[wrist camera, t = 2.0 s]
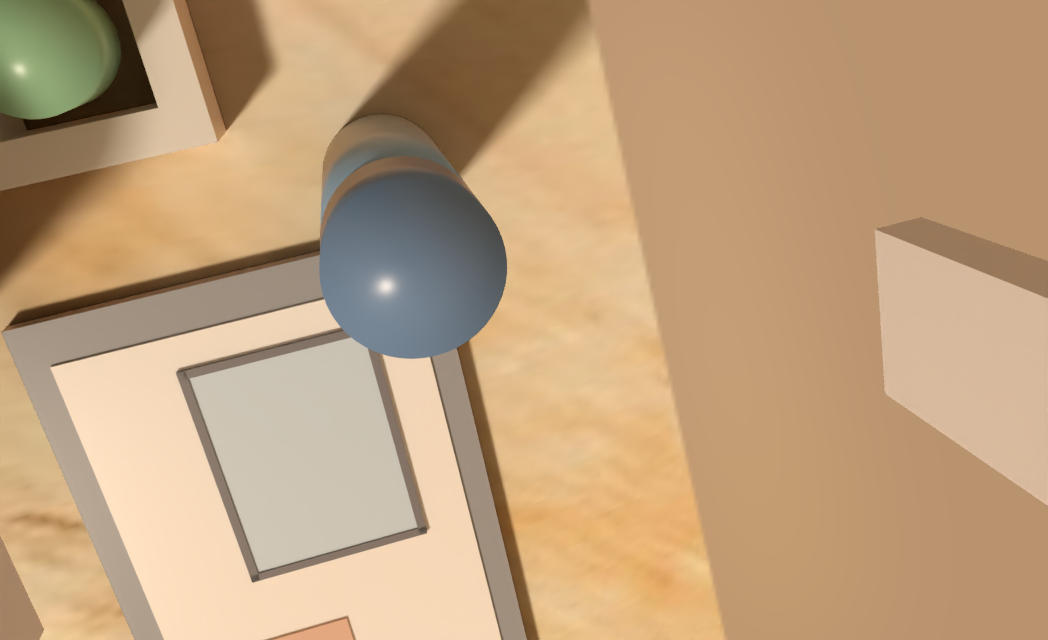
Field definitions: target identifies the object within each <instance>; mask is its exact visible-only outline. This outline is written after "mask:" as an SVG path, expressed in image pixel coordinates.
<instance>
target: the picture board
mask: <svg viewBox="0 0 1048 640" xmlns="http://www.w3.org/2000/svg"><path fill="white" fill-rule="evenodd" d="M319 261H320V251H316V252H312V253H308V254H304V255H299V256H295V257H291V258H287V259H283V260H279V261H275V262H270V263H266V264H262V265H258V266H254V267H250V268H246V269H242V270H237V271H233V272H229V273H225V274H221V275H217V276H213V277H208V278H204V279H200V280H196V281H192V282H188V283H184V284H179V285H175V286H171V287H167V288H163V289H159V290H155V291H150V292H146V293H142V294H138V295H134V296H130V297H126V298H122V299H117V300H113V301H109V302H105V303H101V304H97V305H93V306H88V307H84V308H80V309H76V310H72V311H68V312H64V313H59V314H55V315H51V316H47V317H43V318H39V319H35V320H30V321H26V322H22V323H18V324H14V325H10V326H7V327H6V328H5V329H4V330H3V331H2V332H1V333H2V335H3V337H4V339H5V342H6V344H7V346H8V349H9V351H10V353H11V356H12V358H13V360H14V363H15V365H16V367H17V370H18V372H19V374H20V376H21V379H22V381H23V383H24V386H25V388H26V390H27V393H28V395H29V397H30V400H31V402H32V404H33V406H34V409H35V411H36V413H37V416H38V418H39V420H40V423H41V425H42V427H43V430H44V432H45V434H46V436H47V439H48V441H49V443H50V446H51V448H52V450H53V453H54V455H55V457H56V460H57V462H58V464H59V466H60V469H61V471H62V473H63V476H64V478H65V480H66V483H67V485H68V487H69V490H70V492H71V494H72V497H73V499H74V501H75V503H76V506H77V508H78V510H79V513H80V515H81V517H82V520H83V522H84V524H85V527H86V529H87V531H88V533H89V536H90V538H91V540H92V543H93V545H94V547H95V550H96V552H97V554H98V557H99V559H100V561H101V563H102V566H103V568H104V570H105V573H106V575H107V577H108V580H109V582H110V584H111V587H112V589H113V591H114V593H115V596H116V598H117V600H118V603H119V605H120V607H121V610H122V612H123V614H124V617H125V619H126V621H127V624H128V626H129V628H130V630H131V633H132V635H133V637H134V640H527V638H526V634H525V630H524V626H523V621H522V617H521V613H520V609H519V605H518V601H517V596H516V592H515V588H514V584H513V580H512V576H511V571H510V567H509V563H508V559H507V555H506V551H505V547H504V542H503V538H502V534H501V530H500V526H499V522H498V517H497V513H496V509H495V505H494V501H493V497H492V492H491V488H490V484H489V480H488V476H487V472H486V467H485V463H484V459H483V455H482V451H481V447H480V442H479V438H478V434H477V430H476V426H475V422H474V417H473V413H472V409H471V405H470V401H469V397H468V392H467V388H466V384H465V380H464V376H463V372H462V368H461V363H460V359H459V355H458V351H457V348H455V349H453V350H451V351H449V352H446V353H443V354H440V355H437V356H432V357H427V358H418V359H405V358H396V357H391V356H387V355H383V354H380V353H377V352H375V351H373V350H370V349H368V348H366V347H365V346H363V345H361V344H360V343H358V342H356V341H355V340H354V339H353V338H352V337H350V336H349V335H348V334H347V333H346V332H345V331H344V330H343V329H342V328H341V327H340V326H339V325H338V323H337V322H336V320H335V319H334V318H333V316H332V314H331V313H330V311H329V309H328V307H327V305H326V302H325V299H324V297H323V294H322V289H321V284H320V275H319Z"/></svg>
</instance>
